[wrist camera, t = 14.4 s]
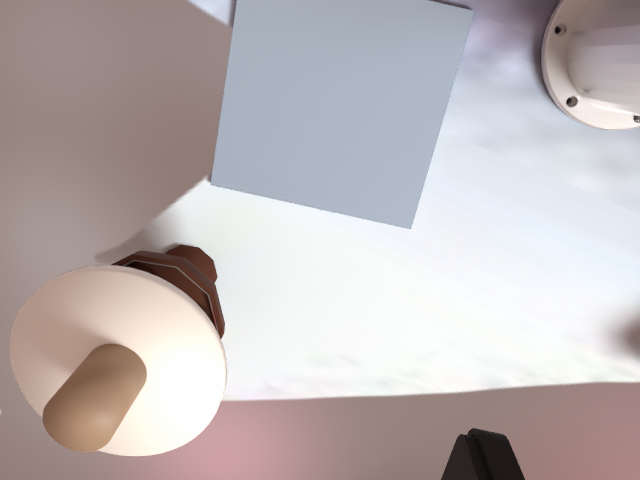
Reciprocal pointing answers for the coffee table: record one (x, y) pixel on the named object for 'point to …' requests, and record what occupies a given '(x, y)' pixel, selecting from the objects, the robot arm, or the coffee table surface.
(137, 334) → the lid
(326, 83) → the mat
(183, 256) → the ice cream bowl
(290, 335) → the coffee table surface
